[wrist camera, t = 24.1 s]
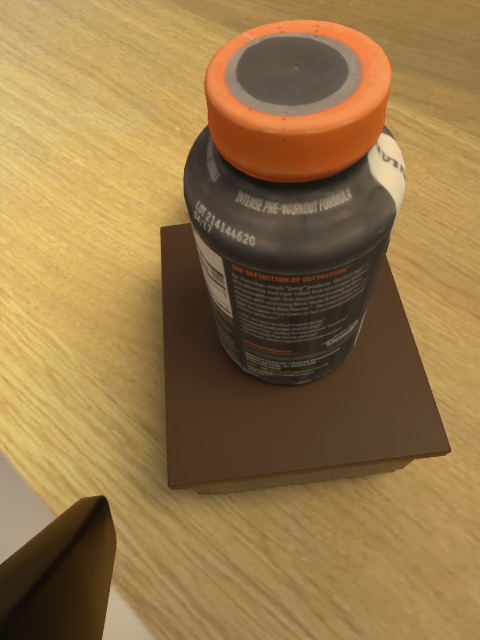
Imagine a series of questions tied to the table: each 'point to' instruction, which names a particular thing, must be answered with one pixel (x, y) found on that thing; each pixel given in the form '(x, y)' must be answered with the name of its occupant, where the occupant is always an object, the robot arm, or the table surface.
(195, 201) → the pill bottle
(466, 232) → the table surface
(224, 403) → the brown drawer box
